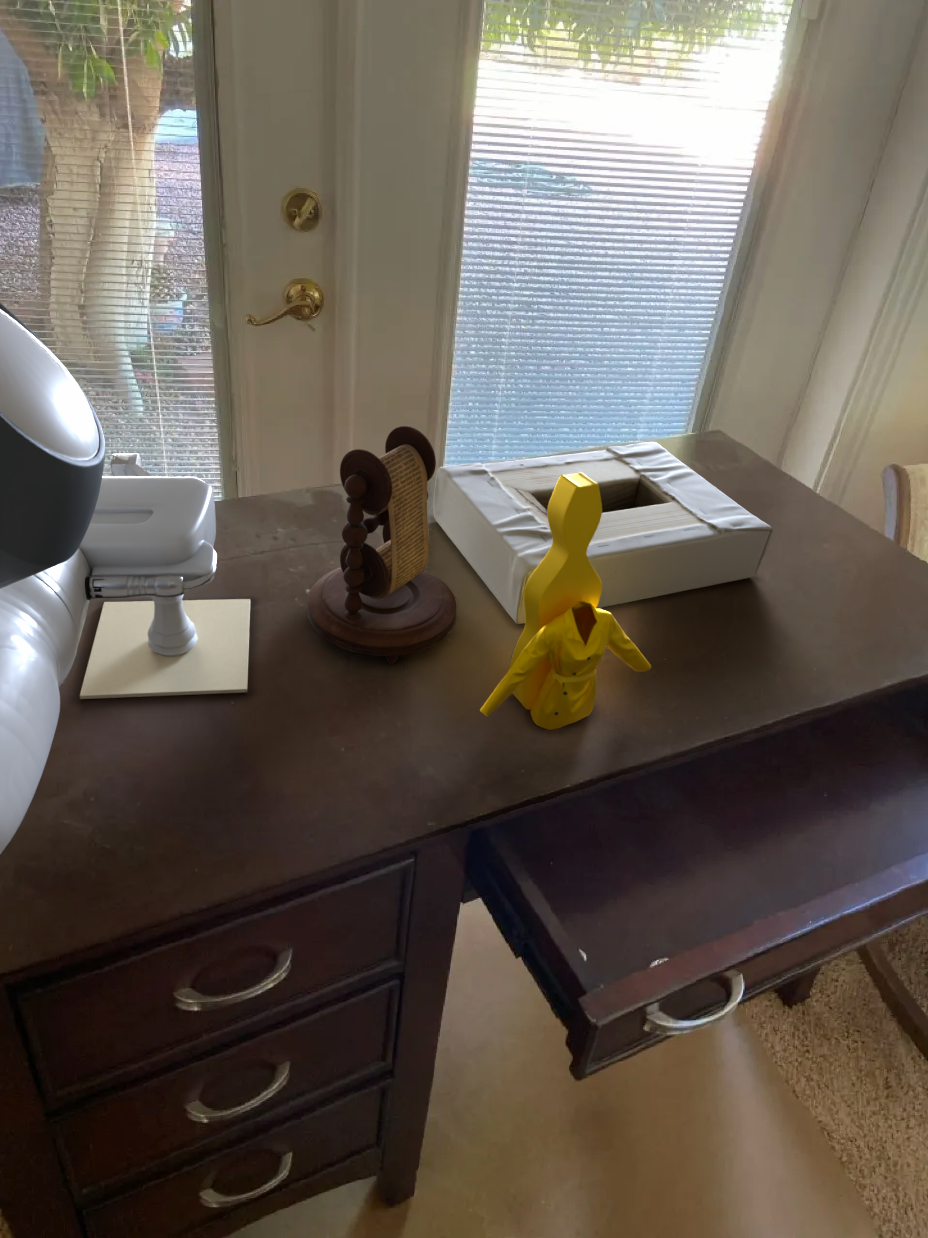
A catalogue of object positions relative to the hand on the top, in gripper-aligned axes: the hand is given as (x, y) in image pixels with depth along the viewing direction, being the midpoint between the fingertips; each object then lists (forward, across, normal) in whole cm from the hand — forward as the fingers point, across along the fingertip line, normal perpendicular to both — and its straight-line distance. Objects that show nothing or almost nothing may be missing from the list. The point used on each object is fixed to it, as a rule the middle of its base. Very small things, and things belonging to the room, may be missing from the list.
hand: (45, 463), depth 53 cm
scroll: (+20, -23, +28) cm, 41 cm away
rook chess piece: (+17, -4, +27) cm, 32 cm away
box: (+33, -49, +28) cm, 66 cm away
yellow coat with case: (+6, -38, +28) cm, 47 cm away
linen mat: (+17, -3, +28) cm, 33 cm away
